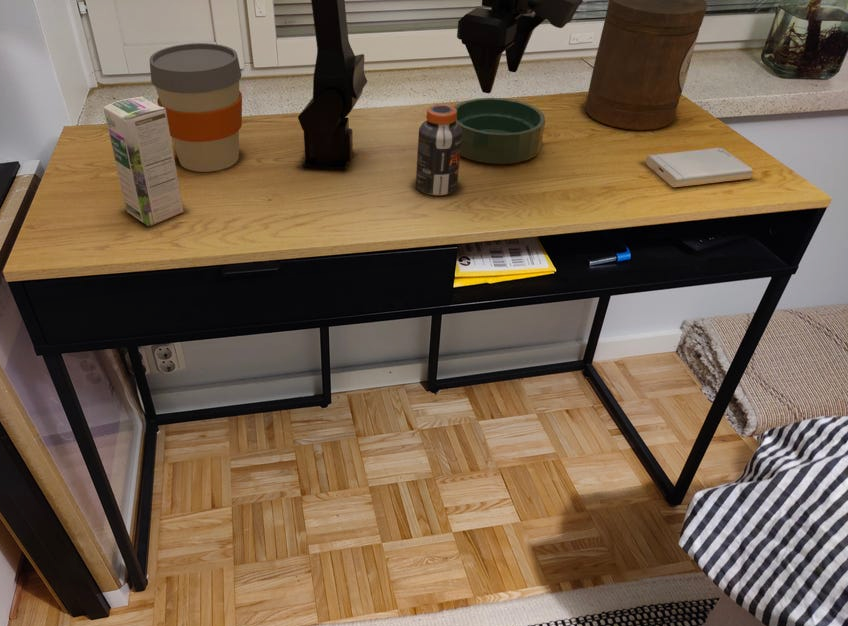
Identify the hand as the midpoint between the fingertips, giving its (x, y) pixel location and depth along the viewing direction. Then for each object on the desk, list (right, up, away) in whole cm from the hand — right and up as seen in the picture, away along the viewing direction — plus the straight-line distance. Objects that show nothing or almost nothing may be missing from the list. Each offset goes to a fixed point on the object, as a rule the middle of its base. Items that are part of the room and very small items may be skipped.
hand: (499, 81), depth 94 cm
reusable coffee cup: (-42, -6, +14) cm, 45 cm away
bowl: (+2, -3, +17) cm, 18 cm away
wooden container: (+27, +5, +28) cm, 39 cm away
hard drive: (+31, -9, +11) cm, 34 cm away
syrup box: (-46, -17, +1) cm, 50 cm away
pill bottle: (-8, -12, +7) cm, 16 cm away
